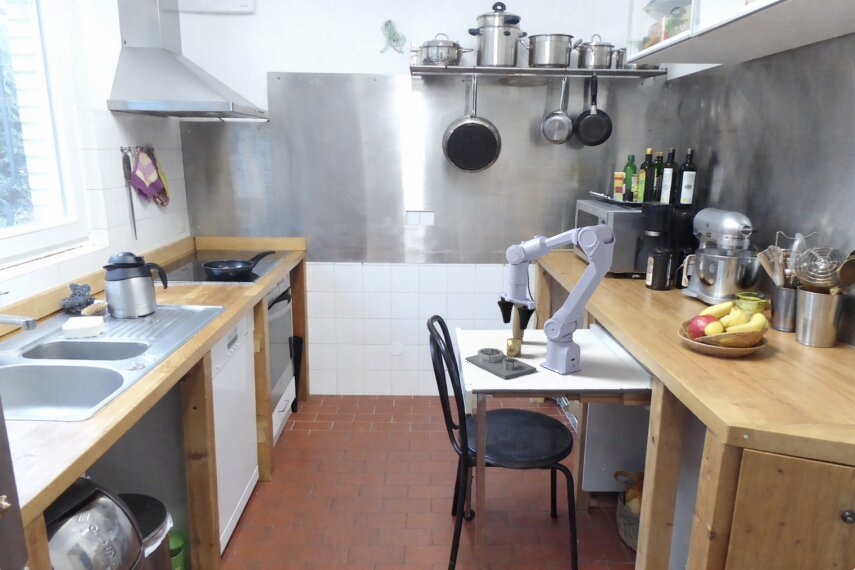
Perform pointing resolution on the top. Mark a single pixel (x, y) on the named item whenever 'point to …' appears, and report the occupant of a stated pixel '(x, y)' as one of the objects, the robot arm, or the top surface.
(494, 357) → the wide collar
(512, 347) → the brass peg
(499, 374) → the board
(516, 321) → the handle
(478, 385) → the top surface
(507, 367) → the narrow collar
